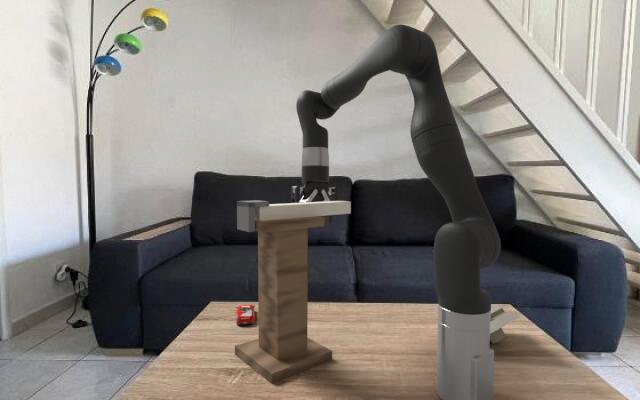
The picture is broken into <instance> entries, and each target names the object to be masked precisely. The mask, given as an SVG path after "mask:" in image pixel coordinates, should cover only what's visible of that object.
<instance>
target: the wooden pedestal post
mask: <svg viewBox="0 0 640 400" xmlns="http://www.w3.org/2000/svg"><path fill="white" fill-rule="evenodd" d="M318 227H319V228H320V227H321V228H322V227H325V223H324V216H314V217H302V218H289V219H277V220H265V221H258V220H255V231H254V232H257V260H258V261H257V267H258V268H257V278H258V279H257V280H258V281H257V284H258V285H257V286H258V290H257V291H258V292H257V294H258V296H257V297H258V300H257V301H258V306H257V307H258V316H257V318H258V338H256V339H253V340H250V341H247V342H244V343H239V344H237V345H234V355H235V356H236V357H238V358H239V359H240V360H241V361H243V362H244V363H246V364H247V365H248V366H249V367H250V368H251V369H253V370H254V371H255V372H257V373H258V374H260V375H261V376H262V377H263V378H265V380H267V381H268V382H269V383H271V384H273V383H276V382H278V381H281V380H283V379H285V378H288V377H291V376H293V375H297V374H299V373H301V372H304V371H306V370H307V371H308V370H310V369H311V368H314V367H317V366H320V365H323V364H325V363H327V362H329V361H332V360H333V350H331V349H330V348H327V347H326V346H324V345H322V344H321V343H318V342H317V341H315V340H313V339H311V338H310V337H308V307H309V305H308V303H309V302H308V291H309V290H308V287H309V286H308V283H309V281H308V276H309V274H308V272H309V271H308V270H309V269H308V268H309V266H308V262H309V261H308V259H309V258H308V255H309V254H308V249H309V246H308V245H309V244H308V243H309V241H308V239H309V237H308V236H309V234H308V233H309V232H308V231H309V230H308V229H309V228H310V229H311V228H318Z"/></svg>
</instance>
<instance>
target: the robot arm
mask: <svg viewBox="0 0 640 400" xmlns="http://www.w3.org/2000/svg"><path fill="white" fill-rule="evenodd" d="M388 71H390V72H393V73H397V74H400V75H404V77H406V79H407V81H408V84H409V87H410V89H411V92H412V97H413V102H414V103H413V106H414V107H413V111H412V116H411V121H410V129H409V130H410V133H409V134H410V139H411V142H412V146H413V150H414V153H415V155H416V159H417V162H418V164H419V167H420V168H421V170H422V171H423V172H424V174H425V176H427V178H428V179H429V180H430V182H431V183H432V184H433V186H434V187H435V188H436V190H437V191H438V192H439V194H440V195H441V196H442V197H443V200H444V201H445V203H446V205H447V208H448V211H449V213H450V216H451V217H450V218H451V220H452V222H447V223H445V224H444V225H442V226H441V227H440V228H439V229H438V231H437V232H436V235H435V238H434V244H433V279H434V280H433V282H434V287H435V288H434V289H435V291H436V293H437V297H438V300H437V301H438V305H437V306H438V307H437V308H438V309H437V313H438V314H437V340H436V341H437V346H436V351H437V352H436V377H435V378H436V379H435V382H436V388H435V389H436V394H437V395H438V397H439V398H440V399H441V400H493V398H494V397H493V396H494V375H495V374H494V370H495V369H494V366H495V350H494V349H492V348H491V347H490V343H491V342H490V321H491V306H492V297H491V293H490V292H488V291H487V290H485V289H483V288H482V287H481V280H480V279H481V278H480V274H481V273H480V272H481V271H480V269H483V268H487V267H490V266H492V265H493V264H495V263H496V262H497V260H498V258H499V257H500V254H501V249H502V247H501V246H502V244H501V238H500V234H499V232H498V230H497V227H496V225H495V222H494V220H493V218H492V216H491V214H490V212H489V210H488V207H487V205H486V203H485V201H484V199H483V196H482V195H481V192H480V190H479V186H478V184H477V181H476V177H475V174H474V170H473V169H472V166H471V162H470V160H469V158H468V155H467V151H466V148H465V144H464V140H463V138H462V135H461V131H460V128H459V125H458V123H457V121H456V118H455V115H454V112H453V109H452V106H451V103H450V99H449V97H448V93H447V91H446V87H445V84H444V80H443V76H442V71H441V66H440V62H439V57H438V52H437V48H436V44H435V42H434V40H433V38H432V37H431V36H430V35H429V34H428V33H426V32H424V31H422V30H419V29H417V28H414V27H412V26H411V25H405V24H402V23H401V24H396V25H393V26H391V27H389V29H387V30H385V32H384V33H382V34H380V36H378V38H377V39H376V40H375V41H374V42H373V43H372V44H371V45H370V46H369V48H367V49H366V50H365V51H364V52H363V53H362V54H360V56H359V57H358V58H357V59H356V60H355V61H354V62H353V63H352V64H351V65H349V66H348V67H347V68H346V69H344V70H343V71H341V72H340V73H338V74H337V75H336V76H333V78H331V79H329V80H328V81H327V82H325V83H324V84H323V85H322V87H321V91H320V92H318V91H313V90H309V89H306V90H303V91H301V92H300V93H299V95H298V97H297V100H296V103H295V105H296V107H295V108H296V113H297V117H298V121H299V127H300V129H301V133H302V153H301V183H302V185H301V186H300V185H293V186H291V192H290V203H305V202H324V201H339V189H338V187H337V186H333V187H329V182H330V154H329V153H330V152H329V131H328V129H327V128H325V127H324V126H322V125H320V124H319V122H318V120H322V121H323V120H327V119H330V118H332V117H333V116H334V115H335V113H336V112H337V111H339V110H340V108H341V107H342V106H343V105H346V104H347V103H349V102H350V101H353V100H354V99H355V98H357V97H359V95H361V94H362V93H363V91H364V90H365V88H366V86H367V84H368V82H369V81H370V80H371V79H372V78H373V77H375V76H378V75H380V74H382V73H386V72H388ZM301 194H303V196H302V197H301ZM328 196H329V197H328ZM323 217H324V225H332V222H333V215H326V216H323Z"/></svg>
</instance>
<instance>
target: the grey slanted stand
mask: <svg viewBox="0 0 640 400" xmlns="http://www.w3.org/2000/svg"><path fill="white" fill-rule="evenodd" d="M521 317H522V316H521V315H519V314H517V313H515V312H512V311H511V310H510V311H508V312H505V310H504V308H503V307H502V306H499V305H497V303H496V304H491V321H490V343H491V344H494V345H495V344H496V343H498V342H500V341H502V340H503V339H505V338H506V337H507V336H506V333H505V332H504V329H503V327H505V326H506V325H509V324H511V323H513V322H514V321H515V320H518V319H520V318H521Z"/></svg>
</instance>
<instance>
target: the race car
mask: <svg viewBox="0 0 640 400" xmlns="http://www.w3.org/2000/svg"><path fill="white" fill-rule="evenodd" d="M255 307H256V306H255V305H254V304H250V303H244V304H240V305H238V306H236V307H235V308H236V317H235V318H236V319H235V320H236V322H235V323H236V325H238V326H239V325H240V326H242V325H243V326H244V325H253V324H255V321H256V320H255V316H256V315H255Z"/></svg>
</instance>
